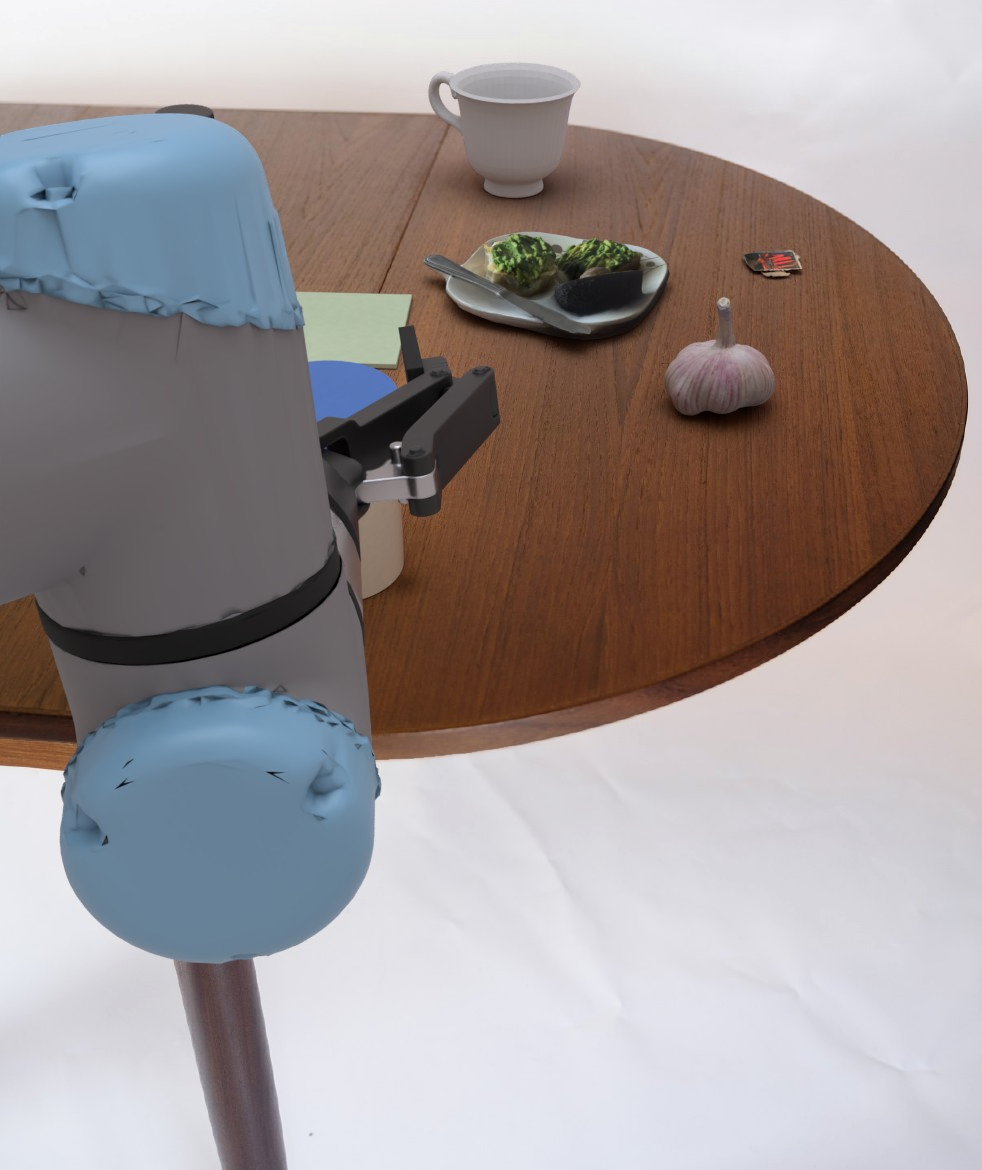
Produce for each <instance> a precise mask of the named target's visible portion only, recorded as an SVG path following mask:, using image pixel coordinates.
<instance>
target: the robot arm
mask: <svg viewBox="0 0 982 1170" xmlns="http://www.w3.org/2000/svg"><path fill="white" fill-rule="evenodd" d="M280 220H281V219H280V216H279V213H278V210H277V209H276V207H275V206H274V202H273V198H272V195H271V189H270V186H269V184H268V179H267V175H266V172H265V169H264V165H263V163H262V161H261V159H260V157H259V155H258V153H257V151H256V149H255V148H254V146H253V145H252V144H251V143H250V141H249V140H248V138H246V137H245V136H244V135H243V134H242V133H241V132H239V131H238V130H237V129H235V128H234V127H232V126H231V125H229V124H228V123H225V122H222V121H220V120H218V119H215V118H214V119H212V118H208V117H204V116H199V115H192V114H180V113H162V114H154V113H139V114H123V115H114V116H106V117H105V116H104V117H96V118H87V119H81V120H73V121H67V122H66V121H65V122H60V123H52V124H45V125H39V126H35V127H30V128H25V129H19V130H15V131H10V132H7V133H3V134H1V135H0V606H3V605H5V604H8V603H11V602H14V601H17V600H20V599H24V598H26V597H29V596H32V595H34V598H35V599H34V603H35V606H36V610H37V614H38V616H39V620H40V623H41V626H42V629H43V631H44V632H45V634H46V636H47V638H48V642H49V645H50V649H51V652H52V656H53V659H54V661H55V665H56V669H57V671H58V674H59V678H60V680H61V684H62V688H63V691H64V694H65V698H66V701H67V703H68V707H69V709H70V713H71V716H72V720H73V725H74V731H75V736H76V738H75V739H76V748H75V749H76V750H75V752H74V753H73V755H72V756H71V757H70V759H69V760H68V762H67V764H65V767H64V770H63V772H62V776H63V778H64V782H63V783H62V786H61V789H60V797H61V800H62V803H63V805H62V814H61V819H60V820H61V822H60V827H59V849H60V851H59V852H60V856H61V862H62V865H63V869H64V873H65V875H66V879H67V881H68V884H69V885H70V888H71V889H72V891H73V893H74V894H75V896H76V897H77V899H78V900H79V902H80V903H81V905H82V906H83V907H84V908H85V909H86V911H87V912H88V913H89V914H90V915H91V917H93V919H95V921H97V922H98V923H99V924H100V925H101V926H102V927H104V928H105V929H107V931H109V932H110V933H111V934H113V935H114V936H116V937H117V938H119V939H120V940H122V941H123V942H125V943H128V944H129V945H131V946H132V947H135V948H137V949H140V950H142V951H144V952H146V953H148V954H152V955H156V956H159V957H162V958H166V959H170V960H173V961H178V962H179V961H180V962H184V963H197V964H198V963H199V964H214V965H215V964H216V965H221V964H224V963H228V962H233V961H237V960H245V961H246V960H251V959H254V958H258V957H269V956H272V955H274V954H278V953H281V952H284V951H286V950H289V949H290V948H293V947H295V946H299V945H301V944H302V943H304V942H306V941H307V940H309V939H310V938H312V937H314V936H316V935H317V934H318V933H319V932H322V931H323V930H324V929H325V928H327V927H328V926H329V925H330V924H331V923H332V922H333V921H334V920H336V919H337V918H338V917H339V915H341V913H342V912H343V911H344V910H345V909H346V908H347V906H348V905H349V904H350V903H351V902H352V900H353V899H354V898H355V896H356V894H357V893H358V891H359V889H360V888H361V886H362V885H363V882H364V881H365V878H366V877H367V875H368V872H369V869H370V865H371V861H372V857H373V853H374V846H375V833H376V832H375V830H376V829H375V828H376V827H375V826H376V825H375V824H376V821H375V820H376V817H375V816H376V800H377V799H378V798H379V797H380V796H381V792H382V780H381V779H382V778H381V776H380V775H379V768H378V767H377V761H376V753H375V751H374V748H373V737H372V723H371V712H370V711H371V708H370V696H369V695H370V694H369V683H368V675H367V673H368V672H367V665H366V657H365V656H366V654H365V623H364V605H363V602H364V601H363V599H362V579H361V553H360V538H359V522H358V521H359V520H360V518H361V517H363V516H364V515H365V514H366V512H367V511H368V509H369V507H370V504H371V503H374V502H383V501H392V500H398V502H399V503H400V504H402V505H408V510H409V514H410V515H411V516H412V517H416V518H426V517H431V516H433V515H437V514H438V513H439V512H440V511H441V509H442V498H443V490H444V489H445V488H446V487H447V485H448V484H450V482H451V481H452V480H453V479H454V477H456V475H458V473H459V472H460V470H462V468H464V466H465V465H466V464H467V462H468V461H469V460H470V459H471V458H472V457H473V456H474V454H476V452H477V451H478V450H479V448H481V446H482V445H483V444H484V443H485V442H486V440H488V438H489V437H490V436H491V435H492V433H493V432H494V431H495V430H496V429H497V428H498V427H499V426H500V424H501V416H500V407H499V398H498V390H497V382H496V373H495V369H494V368H493V367H491V366H488V365H478V366H475V367H473V368H470V369H468V370H467V371H465V373H464V374H463V375H461V377H455V376H453V373H452V372H453V371H452V369H450V367H449V364H448V360H447V358H446V357H444V356H442V355H438V356H431V357H424V358H422V356H421V355H422V354H421V351H420V346H419V342H418V337H417V333H416V329H415V325H414V324H411V325H406V326H405V327H398V329H399V335H400V342H401V354H402V361H403V366H404V374H405V379H406V380H405V381H406V383H405V384H403V385H401V386H400V387H397V389H396V390H394V391H393V392H391V393H389V394H388V395H386V396H384V397H382V398H381V399H379V400H377V401H375V402H374V403H372V404H370V405H368V406H367V407H365V408H363V409H362V410H360V411H358V412H356V413H355V414H353V415H351V416H349V417H348V418H346V419H344V418H337V417H330V416H328V417H325V418H323V419H322V420H320V421H318V422H317V421H316V414H315V407H314V400H313V393H312V386H311V378H310V371H309V364H308V357H307V350H306V343H305V336H304V329H303V326H305V322H304V317H303V311H302V309H303V308H302V306H301V305H300V303H299V302H298V300H297V296H296V292H297V291H296V287H295V283H294V279H293V274H292V269H291V265H290V261H289V256H288V252H287V247H286V242H285V237H284V235H283V230H282V225H281V221H280ZM325 447H327V449H324V448H325Z"/></svg>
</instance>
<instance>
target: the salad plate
mask: <svg viewBox="0 0 982 1170" xmlns="http://www.w3.org/2000/svg"><path fill="white" fill-rule="evenodd" d="M423 264H424V265H425V267H426V268H428V269H430V270H431V271H433V272H435V273H436V274H438V275H440V276H441V277H442V278H443V280H445V292H446V295H448V297H450V299H452V301H453V302H454V303H456V305H457V306H458V307H459V308H460V309H461V310H463V311H465V312H468V313H470V314H472V315H475V316H477V317H480V318H482V319H484V320H487V321H489V322H492V323H497V324H501V325H505V326H510V327H515V328H520V329H524V330H528V331H532V332H536V333H539V334H543V335H547V336H552V337H558V338H564V339H572V340H583V341H587V340H588V341H590V340H601V339H608V338H612V337H616V336H619V335H621V334H625V333H627V332H630V331H631V330H633V329H634V328H636V327H637V326H638V325H639V324H640V323H641V322H642V320H643V319H645V318H646V316H647V315H648V314H649V313H650V311H652V309H653V308H654V307H655V306H656V303H657V302H658V300H659V299H660V296H661V295H662V294H663V292H664V290H665V288H666V286H667V284H668V281H669V278H670V275H671V272H670V269H669V268H668V264H667V262H666V261H665V260H664V258H662V257H661V256H660V255H658V254H656V253H655V252H654V251H651V250H650V249H647V248H644V247H642V246H638V245H633V244H628V243H623V242H622V243H621V242H615V241H614V240H611V239H604V240H600V239H597V237H595V238H590V239H584V238H576V237H571V236H568V235H560V234H555V233H547V232H540V231H521V232H514V233H508V234H503V235H500V236H496V237H493V238H491V239H490V238H489V240H487V241H485V242H483V243H482V245H480V246H479V247H478V249H477V250H476V251H475V252H474V253H472V255H471V256H470V257H469V258H468V259H467V260H466V261H465V262H464V263H463V264H458V263H456V262H455V261H453V260H452V259H449V258H447V257H446V256H444V255H442V254H430V255H428V256H425V257H424V258H423Z"/></svg>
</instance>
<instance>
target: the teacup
mask: <svg viewBox="0 0 982 1170" xmlns="http://www.w3.org/2000/svg"><path fill="white" fill-rule="evenodd" d="M442 84H445V85H446V86H448V87H449V89H450V94H451V97H452V99H454V100H457V104H458V107H459V109H458V110H459V115H460V117H459V116H458V115H456V114H455V113H453V112H452V111H450V110H449V108H448V107H446V105H445V104H444V102H443V100H442V99H441V95H440V87H441V85H442ZM580 88H581V81H580V79H579V78H578V77H577V76H576V75H575V74H574V73H572V72H570V71H568V70H566V69H563V68H560V67H556V66H553V65H547V64H542V63H533V62H497V63H496V62H495V63H486V64H481V65H475V66H472V67H468V68H466V69H462V70H460V71H459V72H457V73H456V74H454V73H453V72H451V71H447V70H445V71H444V70H442V71H439V72H436V73H435V74H434V75H433V76H432V77H431V80H430V81H429V85H428V91H427V93H428V95H427V96H428V100H429V101H428V102H429V105H430V107H431V109H432V110H433V112H434V113H435V115H436V116H437V117H438V119H440V120H442V121H443V122H445V123H446V124H448V125H449V126H451V127H453V128H454V129H456V130H457V132H459V133H460V135H461V136H462V138H463V146H464V151H465V155H466V158H467V161H468V163H469V166H470V167H471V169H472V170H473V171H474V172H475V173H477V175H479V176H481V177H483V178H484V183H483V188H484V190H485V191H486V192H487V193H489V194H490V195H492V196H495V197H500V198H507V199H521V198H529V197H533V196H535V195H538V194H539V193H541V192H542V191H543V189H544V181H543V179H544V178H546V177H548V176H549V175H550V174H552V173H553V172H554V171H555V170H556V169H557V167H558V165H559V164H560V162H561V159H562V156H563V152H564V148H565V142H566V138H567V137H566V136H567V130H568V124H569V117H570V111H571V106H572V102H573V98H574V95H575V94H576V92H578V91H579V89H580Z"/></svg>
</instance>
